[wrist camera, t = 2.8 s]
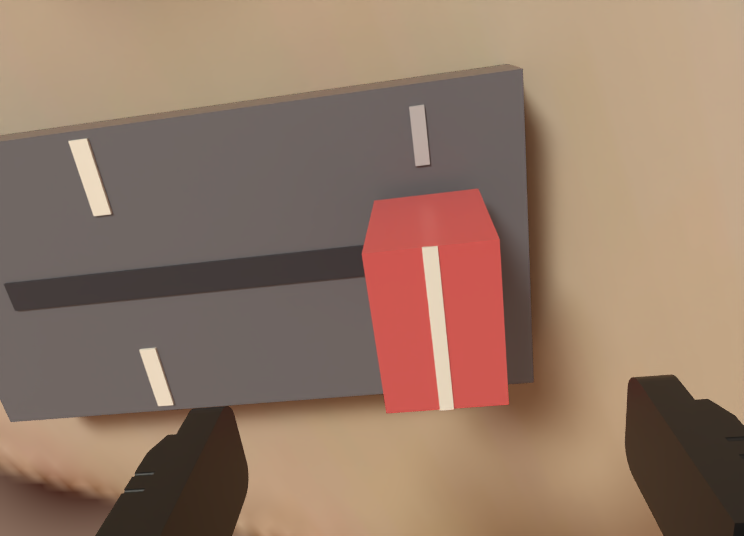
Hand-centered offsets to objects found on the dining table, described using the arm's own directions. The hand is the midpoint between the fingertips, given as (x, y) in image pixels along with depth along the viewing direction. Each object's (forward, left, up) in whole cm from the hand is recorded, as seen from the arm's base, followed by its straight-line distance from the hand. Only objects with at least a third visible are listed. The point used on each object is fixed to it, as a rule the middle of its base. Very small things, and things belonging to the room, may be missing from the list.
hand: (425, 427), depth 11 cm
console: (+8, 0, -13) cm, 15 cm away
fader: (0, 0, -10) cm, 10 cm away
